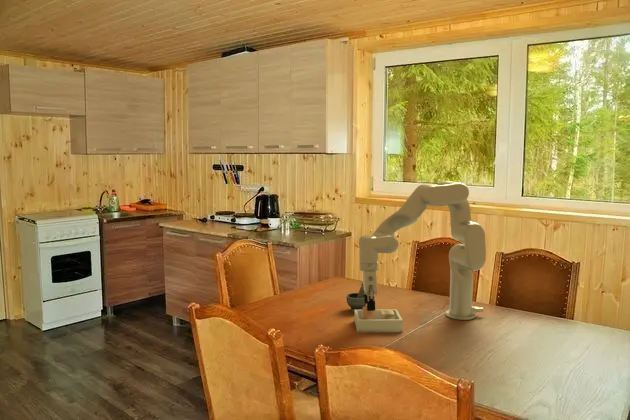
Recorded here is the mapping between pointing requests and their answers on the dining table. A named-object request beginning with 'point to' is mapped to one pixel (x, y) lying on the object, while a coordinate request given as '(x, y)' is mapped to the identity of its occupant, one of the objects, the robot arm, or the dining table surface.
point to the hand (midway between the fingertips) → (369, 306)
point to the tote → (378, 322)
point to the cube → (387, 314)
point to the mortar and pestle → (356, 300)
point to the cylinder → (368, 314)
